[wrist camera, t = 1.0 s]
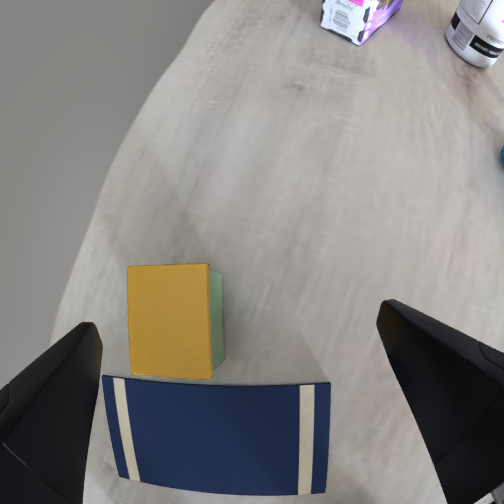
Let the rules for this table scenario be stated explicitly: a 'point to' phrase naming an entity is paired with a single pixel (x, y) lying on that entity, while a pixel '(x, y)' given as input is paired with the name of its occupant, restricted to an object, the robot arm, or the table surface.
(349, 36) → the candy box
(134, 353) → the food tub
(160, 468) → the tea towel
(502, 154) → the molecular model
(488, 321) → the table surface
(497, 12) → the supplement can
